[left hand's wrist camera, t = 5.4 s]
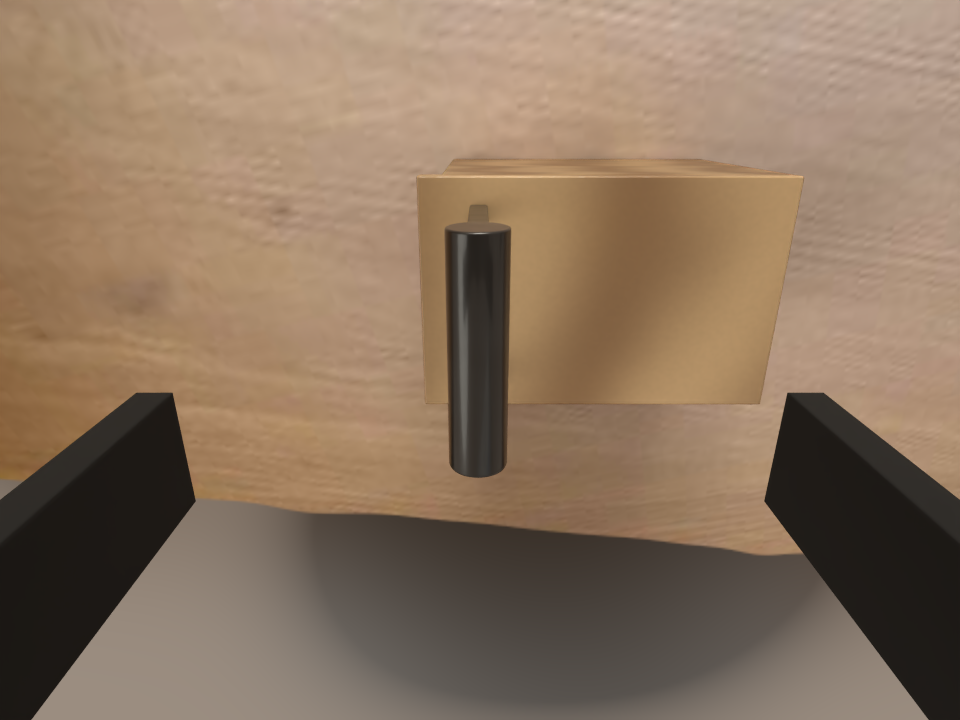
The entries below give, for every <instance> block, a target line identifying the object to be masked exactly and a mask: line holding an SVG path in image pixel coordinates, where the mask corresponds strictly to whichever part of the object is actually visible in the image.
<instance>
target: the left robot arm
mask: <svg viewBox="0 0 960 720" xmlns="http://www.w3.org/2000/svg"><path fill="white" fill-rule="evenodd" d="M195 501H196V500H195V496H194V491H193V486H192V482H191V477H190V472H189V468H188V463H187V458H186V454H185V449H184V444H183V440H182V435H181V430H180V426H179V421H178V416H177V412H176V407H175V402H174V398H173V393H136V394H134V395H133V396H132V397H131V398H129V399H128V400H127V401H126V402H124V403H123V404H122V405H120V406H119V407H118V408H117V409H115V410H114V411H113V412H112V413H110V414H109V415H108V416H106V417H105V418H104V419H103V420H101V421H100V422H99V423H98V424H96V425H95V426H94V427H92V428H91V429H90V430H89V431H87V432H86V433H85V434H83V435H82V436H81V437H80V438H78V439H77V440H76V441H75V442H73V443H72V444H71V445H69V446H68V447H67V448H66V449H64V450H63V451H62V452H61V453H59V454H58V455H57V456H55V457H54V458H53V459H52V460H50V461H49V462H48V463H47V464H45V465H44V466H43V467H41V468H40V469H39V470H38V471H36V472H35V473H34V474H33V475H31V476H30V477H29V478H27V479H26V480H25V481H24V482H22V483H21V484H20V485H19V486H17V487H16V488H15V489H13V490H12V491H11V492H10V493H8V494H7V495H6V496H5V497H3V498H2V499H1V500H0V720H31V719H32V718H33V717H34V715H35V714H36V713H37V711H38V710H39V709H40V707H41V706H42V705H43V703H44V702H45V701H46V700H47V698H48V697H49V696H50V694H51V693H52V692H53V690H54V689H55V688H56V686H57V685H58V684H59V682H60V681H61V680H62V678H63V677H64V676H65V674H66V673H67V672H68V670H69V669H70V668H71V666H72V665H73V664H74V662H75V661H76V660H77V658H78V657H79V656H80V654H81V653H82V652H83V650H84V649H85V648H86V646H87V645H88V644H89V642H90V641H91V640H92V638H93V637H94V636H95V634H96V633H97V632H98V630H99V629H100V628H101V626H102V625H103V624H104V622H105V621H106V620H107V618H108V617H109V616H110V614H111V613H112V612H113V610H114V609H115V608H116V606H117V605H118V604H119V602H120V601H121V600H122V598H123V597H124V596H125V594H126V593H127V592H128V590H129V589H130V588H131V587H132V585H133V584H134V582H135V581H136V580H137V579H138V577H139V576H140V574H141V573H142V572H143V571H144V569H145V568H146V567H147V565H148V564H149V563H150V561H151V560H152V559H153V557H154V556H155V555H156V553H157V552H158V551H159V549H160V548H161V547H162V545H163V544H164V543H165V541H166V540H167V539H168V537H169V536H170V535H171V533H172V532H173V531H174V529H175V528H176V527H177V525H178V524H179V523H180V521H181V520H182V519H183V517H184V516H185V515H186V513H187V512H188V511H189V509H190V508H191V507H192V505H193V504H194V503H195ZM764 501H765V503H766V504H767V505H768V507H769V508H770V509H771V511H772V512H773V513H774V515H775V516H776V517H777V519H778V520H779V521H780V523H781V524H782V525H783V527H784V528H785V529H786V531H787V532H788V533H789V535H790V536H791V537H792V539H793V540H794V541H795V543H796V544H797V545H798V547H799V548H800V549H801V551H802V552H803V553H804V555H805V556H806V557H807V559H808V560H809V561H810V563H811V564H812V565H813V567H814V568H815V569H816V571H817V572H818V573H819V575H820V576H821V577H822V578H823V580H824V581H825V582H826V584H827V585H828V586H829V588H830V589H831V590H832V592H833V593H834V594H835V596H836V597H837V598H838V600H839V601H840V602H841V604H842V605H843V606H844V608H845V609H846V610H847V612H848V613H849V614H850V616H851V617H852V618H853V620H854V621H855V622H856V624H857V625H858V626H859V628H860V629H861V630H862V632H863V633H864V634H865V636H866V637H867V638H868V640H869V641H870V642H871V644H872V645H873V646H874V648H875V649H876V650H877V652H878V653H879V654H880V656H881V657H882V658H883V660H884V661H885V662H886V664H887V665H888V666H889V668H890V669H891V670H892V672H893V673H894V674H895V676H896V677H897V678H898V680H899V681H900V682H901V683H902V685H903V686H904V688H905V689H906V690H907V692H908V693H909V694H910V696H911V697H912V698H913V699H914V701H915V702H916V704H917V705H918V706H919V707H920V709H921V710H922V711H923V713H924V714H925V715H926V717H927V718H928V719H929V720H960V500H959V499H958V498H957V497H955V496H954V495H953V494H952V493H950V492H949V491H948V490H947V489H945V488H944V487H943V486H941V485H940V484H939V483H938V482H936V481H935V480H934V479H933V478H931V477H930V476H929V475H927V474H926V473H925V472H924V471H922V470H921V469H920V468H919V467H917V466H916V465H915V464H913V463H912V462H911V461H910V460H908V459H907V458H906V457H905V456H903V455H902V454H901V453H899V452H898V451H897V450H896V449H894V448H893V447H892V446H891V445H889V444H888V443H887V442H885V441H884V440H883V439H882V438H880V437H879V436H878V435H877V434H875V433H874V432H873V431H871V430H870V429H869V428H868V427H866V426H865V425H864V424H862V423H861V422H860V421H859V420H857V419H856V418H855V417H854V416H852V415H851V414H850V413H848V412H847V411H846V410H845V409H843V408H842V407H841V406H840V405H838V404H837V403H836V402H834V401H833V400H832V399H831V398H829V397H828V396H827V395H826V394H824V393H787V398H786V402H785V407H784V412H783V416H782V421H781V426H780V430H779V435H778V440H777V444H776V449H775V454H774V458H773V463H772V468H771V472H770V477H769V482H768V486H767V491H766V496H765V500H764Z"/></svg>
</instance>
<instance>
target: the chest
mask: <svg viewBox="0 0 960 720" xmlns="http://www.w3.org/2000/svg"><path fill="white" fill-rule="evenodd" d="M442 175H791V174H785V173H779V172H773V171H767V170H761V169H755V168H749V167H743V166H737V165H731V164H725V163H719V162H713V161H707V160H701V159H454V160H453V161H452V162H451V164H450V165H449V166H448V168H447V169H446V170H445V172H444V173H443V174H442Z"/></svg>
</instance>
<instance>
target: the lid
mask: <svg viewBox="0 0 960 720" xmlns="http://www.w3.org/2000/svg"><path fill="white" fill-rule="evenodd" d="M803 181H804V177H803V176H798V175H418V176H417V202H418V229H419V255H420V281H421V307H422V333H423V359H424V385H425V403H426V404H448V421H449V463H450V465H451V467H452V469H453V470H454V471H455V472H457V473H459V474H461V475H464V476H467V477H475V478H481V477H489V476H492V475H495V474H497V473H499V472H501V471H502V470H503V469H504V468H505V466H506V463H507V428H508V404H760V400H761V395H762V390H763V385H764V380H765V375H766V370H767V364H768V359H769V354H770V349H771V344H772V339H773V334H774V329H775V324H776V319H777V314H778V308H779V303H780V298H781V293H782V288H783V283H784V278H785V273H786V268H787V263H788V257H789V252H790V247H791V242H792V237H793V232H794V227H795V222H796V217H797V212H798V207H799V201H800V196H801V191H802V186H803Z"/></svg>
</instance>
